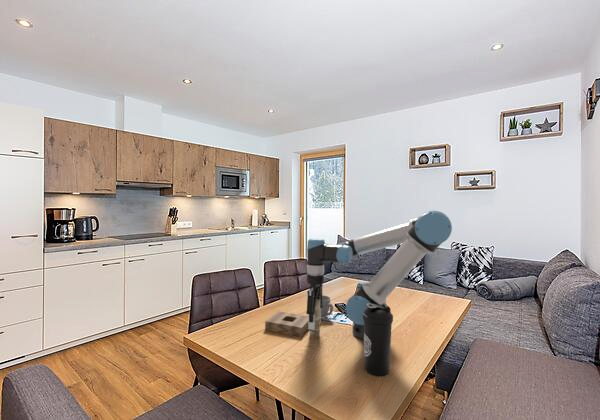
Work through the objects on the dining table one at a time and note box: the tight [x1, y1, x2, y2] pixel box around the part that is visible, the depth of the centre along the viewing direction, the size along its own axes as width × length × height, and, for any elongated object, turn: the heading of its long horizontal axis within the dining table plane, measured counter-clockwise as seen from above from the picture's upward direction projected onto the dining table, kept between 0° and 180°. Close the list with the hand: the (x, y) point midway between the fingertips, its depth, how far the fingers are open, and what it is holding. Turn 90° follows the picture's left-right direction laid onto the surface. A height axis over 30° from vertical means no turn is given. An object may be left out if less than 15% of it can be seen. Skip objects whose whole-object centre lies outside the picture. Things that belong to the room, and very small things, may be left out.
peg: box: [309, 299, 321, 339], centre depth 132 cm, size 4×4×16 cm
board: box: [264, 310, 309, 337], centre depth 141 cm, size 18×14×4 cm
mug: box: [320, 294, 334, 319], centre depth 155 cm, size 12×9×10 cm
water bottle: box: [363, 303, 394, 377], centre depth 106 cm, size 10×10×23 cm
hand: (314, 325), depth 132 cm, fingers open, 8 cm apart
